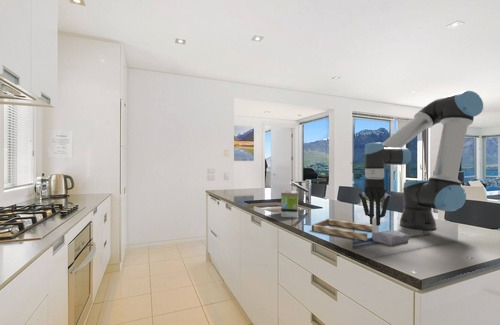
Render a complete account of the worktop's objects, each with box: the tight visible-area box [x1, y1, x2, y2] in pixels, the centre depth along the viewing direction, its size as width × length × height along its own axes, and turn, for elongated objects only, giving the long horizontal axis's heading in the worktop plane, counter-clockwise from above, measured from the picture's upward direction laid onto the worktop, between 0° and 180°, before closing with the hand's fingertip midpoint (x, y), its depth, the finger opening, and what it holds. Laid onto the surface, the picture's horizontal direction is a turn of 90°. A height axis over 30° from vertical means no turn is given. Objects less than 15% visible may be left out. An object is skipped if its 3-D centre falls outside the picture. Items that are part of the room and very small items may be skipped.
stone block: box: [371, 230, 409, 246], centre depth 102 cm, size 12×5×10 cm
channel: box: [311, 218, 372, 241], centre depth 117 cm, size 24×18×2 cm
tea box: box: [280, 190, 299, 219], centre depth 155 cm, size 15×10×15 cm
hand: (375, 232), depth 108 cm, fingers closed
